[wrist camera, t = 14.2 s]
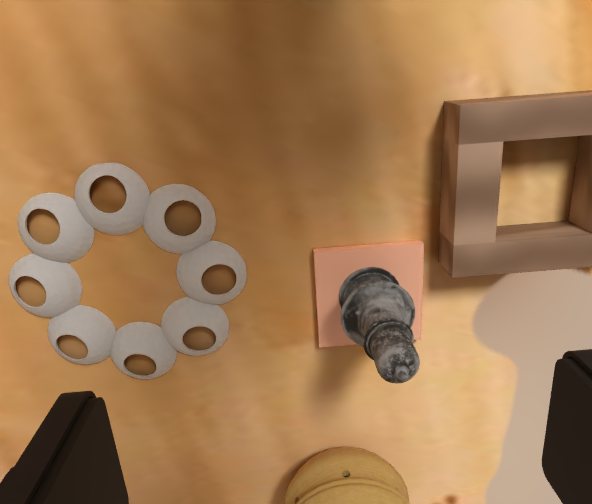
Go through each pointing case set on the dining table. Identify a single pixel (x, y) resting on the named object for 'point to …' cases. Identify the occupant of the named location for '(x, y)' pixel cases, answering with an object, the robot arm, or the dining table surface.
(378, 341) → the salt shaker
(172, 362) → the paint palette
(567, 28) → the dining table surface
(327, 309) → the terracotta tile
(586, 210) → the brown square wooden frame
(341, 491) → the pot
